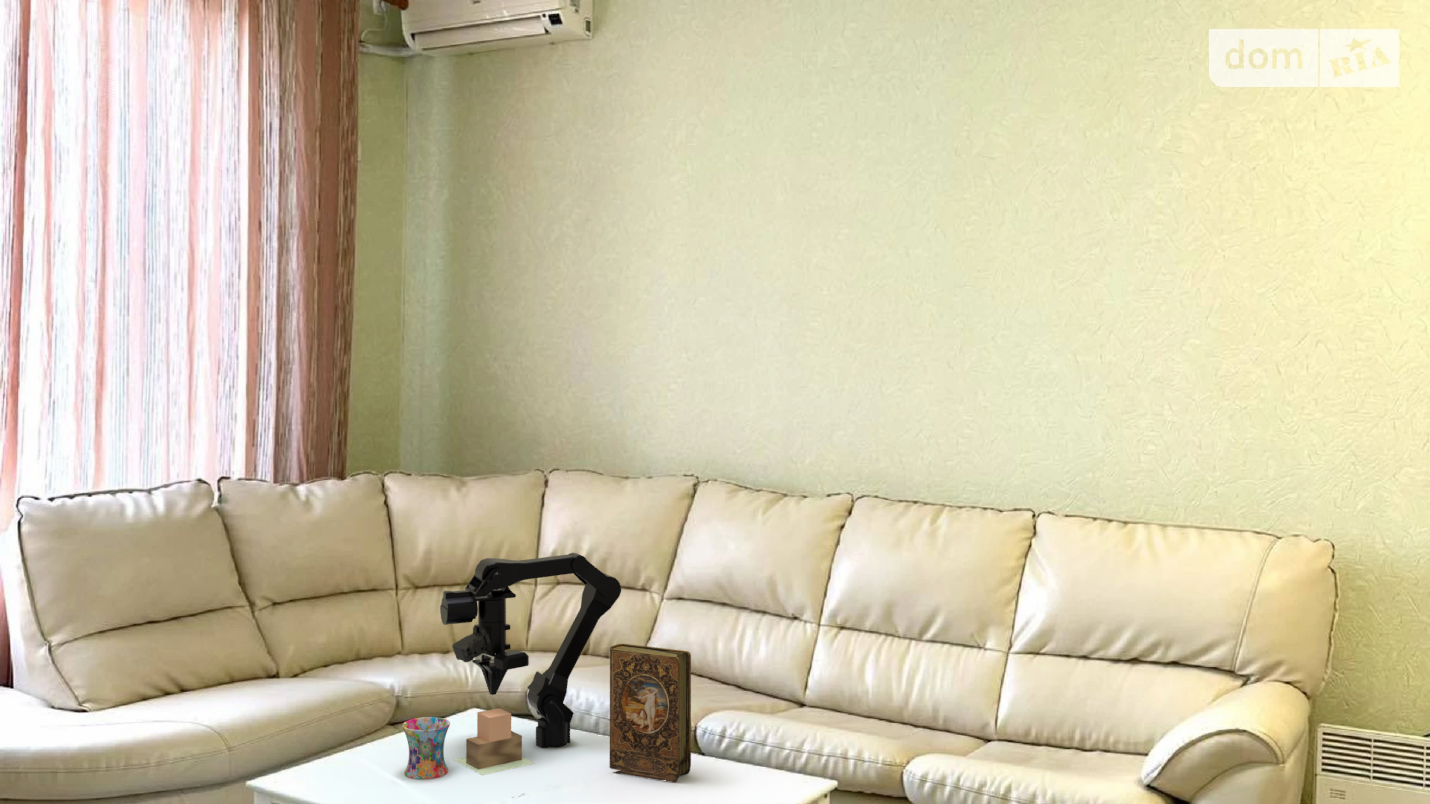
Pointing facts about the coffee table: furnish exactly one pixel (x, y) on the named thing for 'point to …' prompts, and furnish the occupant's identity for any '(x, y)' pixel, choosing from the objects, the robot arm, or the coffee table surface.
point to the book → (650, 711)
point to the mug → (426, 747)
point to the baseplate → (497, 767)
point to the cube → (494, 725)
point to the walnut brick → (493, 751)
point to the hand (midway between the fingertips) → (492, 694)
